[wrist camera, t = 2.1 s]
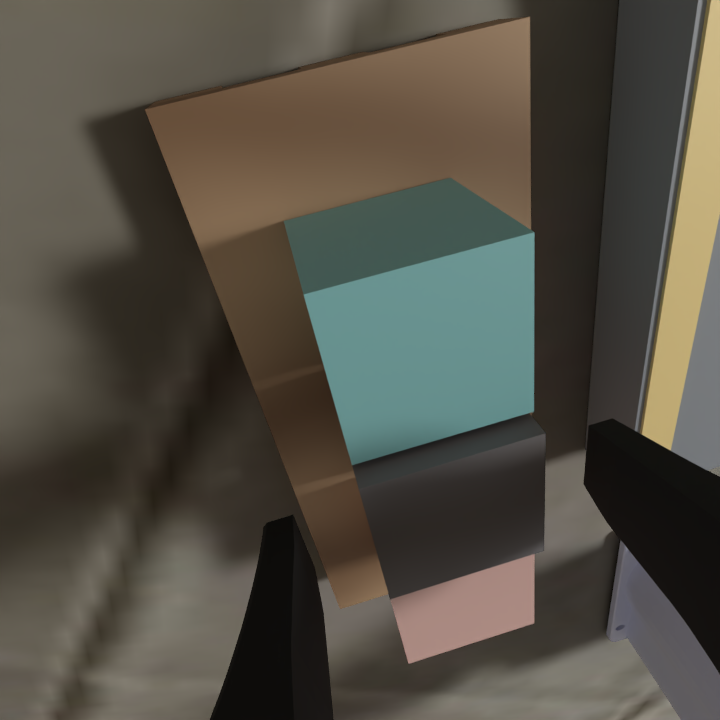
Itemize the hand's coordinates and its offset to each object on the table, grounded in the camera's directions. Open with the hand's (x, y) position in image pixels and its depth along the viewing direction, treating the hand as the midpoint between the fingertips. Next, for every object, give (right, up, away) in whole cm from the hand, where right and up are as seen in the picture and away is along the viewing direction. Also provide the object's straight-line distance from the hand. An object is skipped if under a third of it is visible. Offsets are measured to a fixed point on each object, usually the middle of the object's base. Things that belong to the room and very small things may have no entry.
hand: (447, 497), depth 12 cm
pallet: (-1, +3, +5) cm, 6 cm away
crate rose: (0, -2, +6) cm, 6 cm away
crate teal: (-1, +5, +1) cm, 6 cm away
